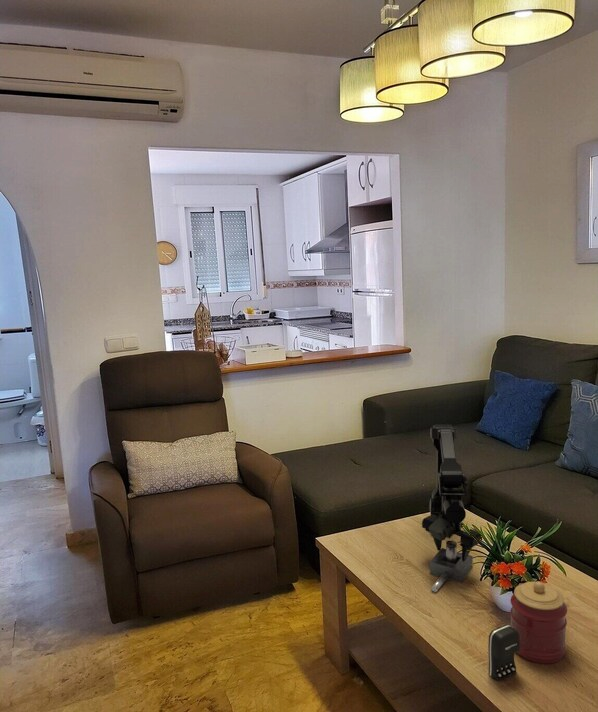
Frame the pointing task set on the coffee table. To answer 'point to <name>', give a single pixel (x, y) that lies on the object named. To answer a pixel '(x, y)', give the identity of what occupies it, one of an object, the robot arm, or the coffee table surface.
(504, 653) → the battery charger
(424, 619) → the coffee table surface
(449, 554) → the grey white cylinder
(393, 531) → the coffee table surface
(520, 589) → the canister
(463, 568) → the chuck block
